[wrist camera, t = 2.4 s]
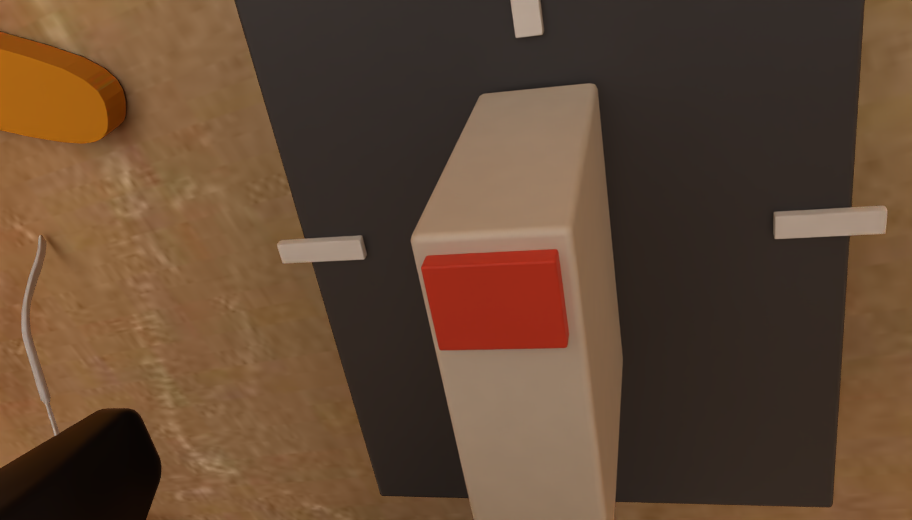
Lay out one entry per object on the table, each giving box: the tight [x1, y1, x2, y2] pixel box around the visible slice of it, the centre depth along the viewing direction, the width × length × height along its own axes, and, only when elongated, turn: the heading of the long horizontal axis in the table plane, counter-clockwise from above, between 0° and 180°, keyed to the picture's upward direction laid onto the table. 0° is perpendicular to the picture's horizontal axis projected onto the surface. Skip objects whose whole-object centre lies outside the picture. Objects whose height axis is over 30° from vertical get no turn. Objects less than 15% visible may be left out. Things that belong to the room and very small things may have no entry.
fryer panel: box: [235, 0, 888, 507], centre depth 14 cm, size 9×11×3 cm
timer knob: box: [411, 83, 623, 520], centre depth 11 cm, size 5×2×4 cm, turn 10°
